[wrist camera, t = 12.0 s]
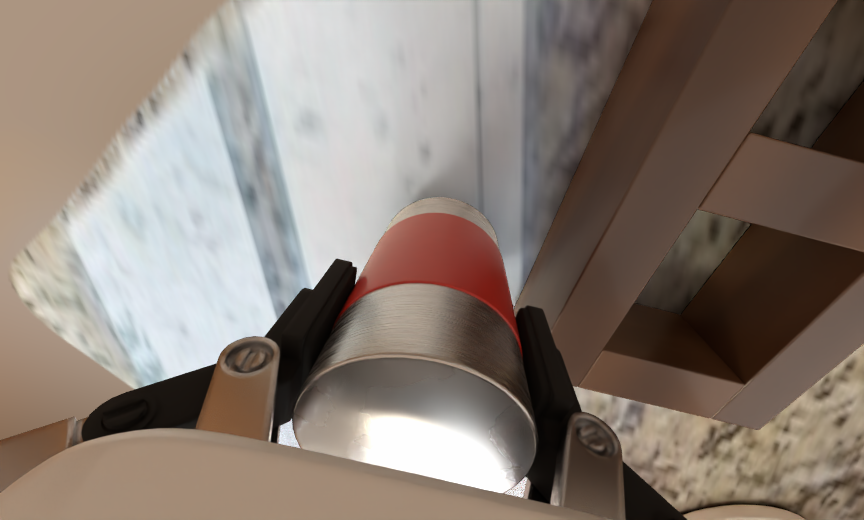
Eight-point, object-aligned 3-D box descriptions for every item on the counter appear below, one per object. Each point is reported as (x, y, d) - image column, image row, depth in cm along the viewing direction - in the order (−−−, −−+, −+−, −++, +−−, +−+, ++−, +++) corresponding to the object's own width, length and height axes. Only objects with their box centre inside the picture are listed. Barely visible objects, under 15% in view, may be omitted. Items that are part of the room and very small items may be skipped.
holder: (1115, -125, 10) (1637, -292, 5) (694, 354, 20) (759, 431, 15) (756, -233, 9) (1005, -506, 5) (512, 310, 19) (526, 375, 15)
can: (516, 213, 15) (589, 394, 6) (479, 310, 18) (493, 528, 9) (392, 181, 15) (289, 323, 6) (375, 285, 18) (287, 483, 9)
